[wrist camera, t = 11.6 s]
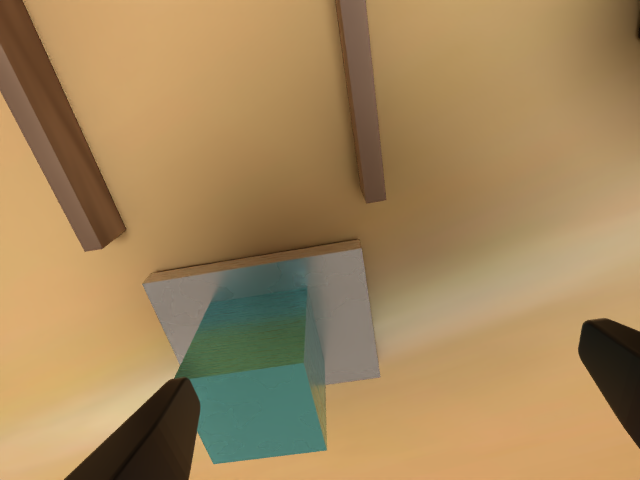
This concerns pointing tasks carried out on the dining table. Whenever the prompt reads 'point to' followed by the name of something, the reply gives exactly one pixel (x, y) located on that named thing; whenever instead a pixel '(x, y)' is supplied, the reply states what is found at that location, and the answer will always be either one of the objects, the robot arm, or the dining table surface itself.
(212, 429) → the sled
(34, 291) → the dining table surface
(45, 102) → the walnut channel
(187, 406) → the robot arm
